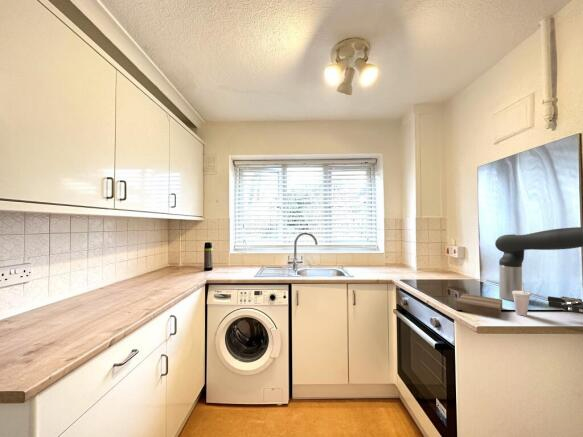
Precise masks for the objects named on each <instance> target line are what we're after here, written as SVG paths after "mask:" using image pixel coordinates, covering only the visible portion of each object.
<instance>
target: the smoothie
mask: <svg viewBox="0 0 583 437" xmlns="http://www.w3.org/2000/svg"><path fill="white" fill-rule="evenodd" d="M524 285H525V284H524V282H522V291H512V294H513V298H514V301H513V303H514V304H513V305H514V311H515V314H516V315H517V316H521V317H527V315H528V310H529V305H530V298H531V293H530V292H527V291H524Z"/></svg>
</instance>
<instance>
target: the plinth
mask: <svg viewBox="0 0 583 437" xmlns="http://www.w3.org/2000/svg"><path fill="white" fill-rule="evenodd" d="M455 305H456V307H455V308H456V309H457V310H456V311H459V310H462V311H461V312H465V313H471V314H475V315H476V314H477V315H482V316H486V317H491V318H497V319H499V318H500V316H501V314H502V311H503V299H502V298H495V297H487V296H481V295H474V294H469V293H462V294H461V295H460V296H459V297H458V299H457V300H456V304H455ZM501 310H502V311H501Z"/></svg>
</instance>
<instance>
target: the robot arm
mask: <svg viewBox="0 0 583 437" xmlns="http://www.w3.org/2000/svg"><path fill="white" fill-rule="evenodd" d="M494 244H495V248H496V249H498V250H499V251H500V252H501V253H502V252H503V255H502V257H501V258H500V259H499V264H498V266H499V267H498V270H499V274H498V275H499V276H498V277H499V278H498V279H499V283H498V284H499V290H498V291H499V293H498V294H499V299H502V300H506V301H512V302H514V298H513V294H512V291H522V283H523V263H524V258H525V251H527V250H533V251H534V250H537V251H539V250H540V251H541V250H543V251H547V250H549V251H550V250H551V251H555V250H558V251H559V250H570V249H577V248H583V226H581V227H580V226H579V227H577V226H574V227H573V226H572V227H563V228H555V229H554V228H553V229H547V230H540V231H537V232H531V233H527V234H526V233H525V234H503V235H500V236H499V237H497V239H496V240H495V243H494ZM547 302H548V304H547V306H548V307H549V308H552V309H553V308H554V309H561V310H563V311H564V312H567V313H573V314H575V313H576V314H582V315H583V299H581V298H576V297H569V296H568V297H567V296H561V297H556V296H549V295H548V296H547Z"/></svg>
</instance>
